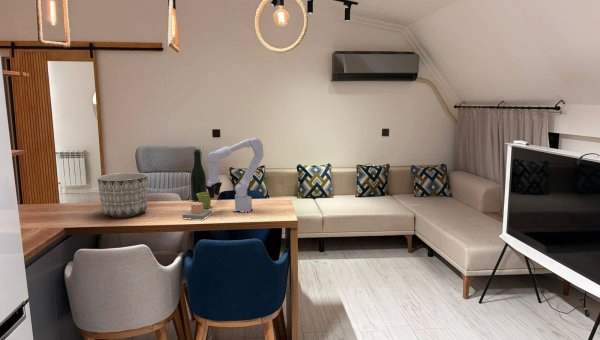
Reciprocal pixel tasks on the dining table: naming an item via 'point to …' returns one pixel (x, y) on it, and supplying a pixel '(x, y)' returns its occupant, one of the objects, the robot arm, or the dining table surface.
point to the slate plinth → (197, 216)
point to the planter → (123, 193)
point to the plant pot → (204, 199)
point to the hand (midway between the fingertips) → (214, 196)
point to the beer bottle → (197, 177)
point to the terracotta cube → (197, 208)
